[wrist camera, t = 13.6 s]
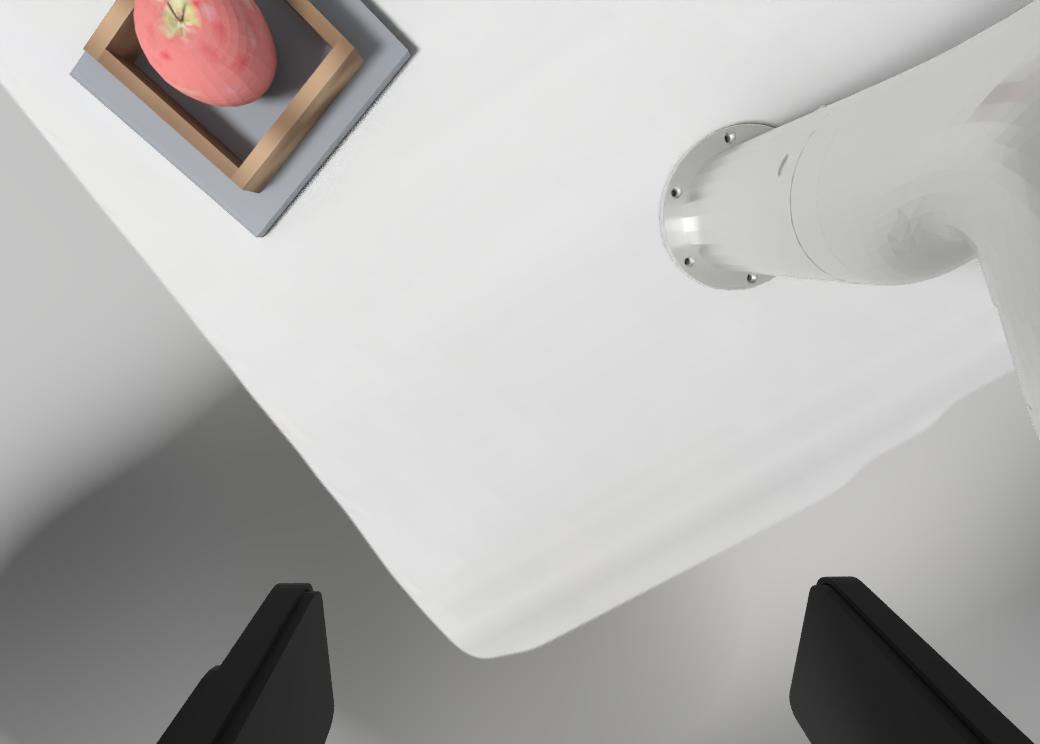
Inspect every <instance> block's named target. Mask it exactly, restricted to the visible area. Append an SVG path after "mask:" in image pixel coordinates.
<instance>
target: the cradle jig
mask: <svg viewBox="0 0 1040 744" xmlns="http://www.w3.org/2000/svg"><path fill="white" fill-rule="evenodd" d="M254 2H255V3H256V5H257V6H258V7H259V9H260V10H261V12H262V14H263V16H264V18H265V20H266V22H267V25H268V27H269V30H270V32H271V35H272V38H273V41H274V45H275V48H276V56H277V67H276V73H275V77H274V79H273V81H272V83H271V85H270V87H269V89H268V90H267V91H266V92H265V93H264V94H263V95H262V97H261V98H259V99H257V100H255V101H254V102H252V103H250V104H246V105H242V106H238V107H219V106H215V105H211V104H207V103H203V102H201V101H199V100H196V99H194V98H192V97H189V96H187V95H185V94H183V93H182V92H180V91H179V90H177V89H176V88H174V87H173V86H171V85H170V84H168V83H167V82H166V81H165V80H164V79H163V78H162V77H161V76H160V74H159V73H158V72H157V71H156V70H155V69H154V68H153V66H152V65H151V64H150V62H149V61H148V59H147V57H146V55H145V53H144V51H143V50H142V48H141V46H140V43H139V40H138V37H137V34H136V31H135V24H134V3H135V0H116V1H115V3H114V4H113V6H112V7H111V9H110V10H109V12H108V13H107V15H106V16H105V18H104V19H103V20H102V22H101V23H100V25H99V26H98V28H97V29H96V31H95V32H94V34H93V35H92V37H91V38H90V39H89V41H88V42H87V44H86V45H85V47H84V48H83V49H84V50H85V52H84V54H83V55H82V57H81V58H80V60H79V61H78V62H77V64H76V65H75V67H74V68H73V70H72V71H71V73H70V74H69V75H71V76H72V77H73V78H74V79H75V80H76V81H77V82H79V83H80V84H81V85H82V86H83V87H84V88H85V89H87V90H88V91H89V92H90V93H91V94H92V95H94V96H95V97H96V98H97V99H98V100H99V101H100V102H102V103H103V104H104V105H105V106H106V107H107V108H108V109H110V110H111V111H112V112H113V113H114V114H115V115H117V116H118V117H119V118H120V119H121V120H122V121H123V122H125V123H126V124H127V125H128V126H129V127H130V128H131V129H133V130H134V131H135V132H136V133H137V134H138V135H139V136H141V137H142V138H143V139H144V140H145V141H146V142H148V143H149V144H150V145H151V146H152V147H153V148H154V149H156V150H157V151H158V152H159V153H160V154H161V155H162V156H164V157H165V158H166V159H167V160H168V161H169V162H171V163H172V164H173V165H174V166H175V167H176V168H177V169H179V170H180V171H181V172H182V173H183V174H184V175H185V176H187V177H188V178H189V179H190V180H191V181H192V182H194V183H195V184H196V185H197V186H198V187H199V188H200V189H202V190H203V191H204V192H205V193H206V194H207V195H208V196H210V197H211V198H212V199H213V200H214V201H215V202H217V203H218V204H219V205H220V206H221V207H222V208H223V209H225V210H226V211H227V212H228V213H229V214H230V215H231V216H233V217H234V218H235V219H236V220H237V221H238V222H240V223H241V224H242V225H243V226H244V227H245V228H246V229H248V230H249V231H250V232H251V233H252V234H253V235H254V236H256V237H263V236H264V235H265V234H266V233H267V231H268V230H269V229H270V228H271V226H272V225H273V224H274V223H275V222H276V220H277V219H278V218H279V217H280V215H281V214H282V213H283V212H284V211H285V209H286V208H287V207H288V206H289V204H290V203H291V202H292V201H293V200H294V198H295V197H296V196H297V195H298V193H299V192H300V191H301V190H302V189H303V187H304V186H305V185H306V184H307V182H308V181H309V180H310V179H311V178H312V176H313V175H314V174H315V173H316V171H317V170H318V169H319V168H320V167H321V165H322V164H323V163H324V162H325V160H326V159H327V158H328V157H329V156H330V154H331V153H332V152H333V151H334V149H335V148H336V147H337V146H338V145H339V143H340V142H341V141H342V140H343V138H344V137H345V136H346V135H347V134H348V132H349V131H350V130H351V129H352V127H353V126H354V125H355V124H356V123H357V121H358V120H359V119H360V118H361V116H362V115H363V114H364V113H365V112H366V110H367V109H368V108H369V107H370V105H371V104H372V103H373V102H374V101H375V99H376V98H377V97H378V96H379V94H380V93H381V92H382V91H383V90H384V88H385V87H386V86H387V85H388V83H389V82H390V81H391V80H392V79H393V77H394V76H395V75H396V74H397V72H398V71H399V70H400V69H401V68H402V66H403V65H404V64H405V63H406V61H407V60H408V59H409V58H410V57H411V55H410V53H409V51H408V49H407V48H406V47H405V46H404V45H403V44H402V43H401V42H400V41H399V40H398V39H397V38H396V37H395V36H394V35H393V34H392V33H391V32H390V31H389V30H388V29H387V27H386V26H385V25H384V24H383V23H382V22H381V21H380V20H379V19H378V18H377V17H376V16H375V15H374V14H373V13H372V12H371V11H370V10H369V9H368V8H367V7H366V6H365V4H364V3H363V2H362V1H361V0H254Z"/></svg>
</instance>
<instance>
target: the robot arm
mask: <svg viewBox="0 0 1040 744" xmlns="http://www.w3.org/2000/svg"><path fill="white" fill-rule="evenodd" d="M725 137H727V139H728V141H727V142H726V141H725ZM672 190H674V191H675V192H676V195H675V196H674V197H673V196H672V195H671V191H672ZM659 219H660V228H661V235H662V238H663V242H664V245H665V248H666V250H667V252H668V254H669V255H670V257H671V259H672V261H673V262H674V263H675V264H676V266H677V267H678V268H679V269H680V270H681V271H682V272H683V273H684V274H686V275H687V276H688V277H689V278H691V279H692V280H694V281H696V282H698V283H700V284H702V285H704V286H708V287H712V288H716V289H723V290H743V289H748V288H752V287H756V286H758V285H761V284H763V283H765V282H767V281H770V280H771V279H773V278H774V277H776V276H783V277H793V278H803V279H813V280H823V281H833V282H843V283H853V284H868V285H885V286H895V285H905V284H912V283H917V282H922V281H925V280H928V279H932V278H935V277H938V276H940V275H943V274H946V273H948V272H950V271H952V270H954V269H956V268H959V267H960V266H962V265H964V264H966V263H967V262H969V261H971V260H972V259H974V258H976V257H977V259H978V261H979V263H980V265H981V268H982V271H983V273H984V276H985V279H986V282H987V285H988V289H989V292H990V296H991V299H992V302H993V304H994V305H995V306H996V308H997V309H998V312H999V316H1000V319H1001V323H1002V326H1003V330H1004V333H1005V336H1006V340H1007V343H1008V347H1009V350H1010V353H1011V357H1012V360H1013V364H1014V367H1015V371H1016V374H1017V377H1018V381H1019V384H1020V388H1021V391H1022V394H1023V398H1024V401H1025V404H1026V407H1027V410H1028V414H1029V416H1030V419H1031V422H1032V424H1033V427H1034V429H1035V431H1036V434H1037V437H1038V439H1039V440H1040V0H1034V1H1033V2H1031V3H1029V4H1028V5H1026V6H1025V7H1023V8H1021V9H1020V10H1018V11H1016V12H1015V13H1013V14H1012V15H1010V16H1008V17H1007V18H1005V19H1003V20H1001V21H1000V22H998V23H996V24H994V25H993V26H991V27H989V28H987V29H986V30H984V31H982V32H980V33H978V34H977V35H975V36H973V37H971V38H970V39H968V40H966V41H964V42H963V43H961V44H959V45H957V46H955V47H953V48H951V49H949V50H947V51H945V52H944V53H942V54H940V55H938V56H936V57H934V58H932V59H930V60H928V61H926V62H924V63H922V64H920V65H917V66H915V67H913V68H911V69H909V70H907V71H905V72H902V73H900V74H898V75H896V76H894V77H891V78H889V79H887V80H885V81H882V82H880V83H878V84H876V85H873V86H871V87H869V88H867V89H864V90H862V91H860V92H858V93H855V94H853V95H851V96H849V97H846V98H844V99H842V100H839V101H837V102H835V103H832V104H830V105H828V106H827V105H821V106H820V107H819V108H818V109H817V110H816V111H814V112H812V113H810V114H807V115H805V116H803V117H800V118H798V119H796V120H793V121H791V122H789V123H787V124H784V125H782V126H780V127H777V128H772V127H769V126H766V125H761V124H740V125H733V126H730V127H727V128H724V129H721V130H718V131H716V132H714V133H712V134H710V135H708V136H706V137H705V138H703V139H702V140H701V141H699V142H698V143H696V144H695V145H694V146H692V147H691V148H690V149H689V150H688V151H687V152H686V153H685V154H684V155H683V156H682V158H681V159H680V160H679V162H678V163H677V164H676V166H675V167H674V169H673V170H672V172H671V174H670V176H669V178H668V181H667V183H666V185H665V187H664V191H663V195H662V199H661V204H660V217H659ZM686 258H687V259H688V263H687V264H685V263H684V262H685V259H686ZM748 275H749V279H748V280H747V276H748ZM789 698H790V705H791V708H792V711H793V714H794V716H795V718H796V720H797V721H798V723H799V724H800V726H801V728H802V729H803V731H804V732H805V734H806V736H807V737H808V739H809V741H810V742H811V744H1034V743H1033V742H1032V741H1031V740H1030V739H1029V738H1028V737H1027V736H1026V735H1024V734H1023V733H1022V732H1021V731H1020V730H1019V729H1018V728H1017V727H1016V726H1015V725H1014V724H1013V723H1012V722H1011V721H1010V720H1008V719H1007V718H1006V717H1005V716H1004V715H1003V714H1002V713H1001V712H1000V711H999V710H998V709H997V708H996V707H995V706H994V705H992V704H991V703H990V702H989V701H988V700H987V699H986V698H985V697H984V696H983V695H982V694H981V693H980V692H979V691H978V690H976V689H975V688H974V687H973V686H972V685H971V684H970V683H969V682H968V681H967V680H966V679H965V678H964V677H963V676H962V675H960V674H959V673H958V672H957V671H956V670H955V669H954V668H953V667H952V666H951V665H950V664H949V663H948V662H947V661H946V660H944V659H943V658H942V657H941V656H940V655H939V654H938V653H937V652H936V651H935V650H934V649H933V648H932V647H931V646H930V645H929V644H927V643H926V642H925V641H924V640H923V639H922V638H921V637H920V636H919V635H918V634H917V633H916V632H915V631H914V630H913V629H911V628H910V627H909V626H908V625H907V624H906V623H905V622H904V621H903V620H902V619H901V618H900V617H899V616H898V615H897V614H895V613H894V612H893V611H892V610H891V609H890V608H889V607H888V606H887V605H886V604H885V603H884V602H883V601H882V600H880V598H878V597H877V596H876V595H875V594H874V593H873V592H872V591H871V590H870V589H869V588H868V587H867V586H865V584H863V583H862V582H861V581H860V580H859V579H857V578H855V577H822V578H820V579H819V580H818V582H817V585H814V586H812V587H811V589H810V592H809V597H808V603H807V607H806V612H805V618H804V622H803V628H802V633H801V638H800V643H799V648H798V653H797V658H796V663H795V668H794V673H793V678H792V684H791V689H790V695H789ZM333 713H334V700H333V691H332V682H331V673H330V664H329V655H328V646H327V637H326V628H325V619H324V610H323V601H322V595H321V593H320V592H319V591H317V592H315V591H313V588H312V586H311V584H309V583H279V584H277V585H275V586H274V588H273V589H272V590H271V592H270V593H269V595H268V596H267V597H266V599H265V601H264V602H263V603H262V605H261V606H260V608H259V609H258V611H257V612H256V614H255V615H254V617H253V618H252V620H251V621H250V623H249V624H248V626H247V627H246V629H245V630H244V632H243V633H242V634H241V636H240V637H239V639H238V640H237V642H236V644H235V645H234V646H233V648H232V649H231V651H230V652H229V654H228V655H227V657H226V658H225V660H224V661H223V663H222V664H221V665H219V666H215V667H213V668H212V669H210V670H209V671H208V672H207V673H206V675H205V676H204V677H203V678H202V679H201V681H200V682H199V684H198V685H197V687H196V688H195V689H194V691H193V692H192V694H191V695H190V696H189V698H188V699H187V701H186V703H185V704H184V705H183V706H182V708H181V709H180V711H179V712H178V714H177V715H176V717H175V718H174V719H173V721H172V722H171V724H170V725H169V727H168V728H167V730H166V731H165V732H164V734H163V735H162V737H161V738H160V740H159V741H158V742H157V744H325V741H326V738H327V735H328V733H329V730H330V727H331V723H332V719H333Z"/></svg>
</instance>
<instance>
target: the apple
mask: <svg viewBox="0 0 1040 744" xmlns="http://www.w3.org/2000/svg"><path fill="white" fill-rule="evenodd" d="M134 24H135V31H136V34H137V37H138V40H139V43H140V46H141V48H142V50H143V51H144V53H145V55H146V57H147V59H148V61H149V62H150V64H151V65H152V66H153V68H154V69H155V70H156V71H157V72H158V73H159V74H160V76H161V77H162V78H163V79H164V80H165V81H166V82H167V83H168V84H170V85H171V86H173V87H174V88H176V89H177V90H179V91H180V92H182V93H183V94H185V95H187V96H189V97H192V98H194V99H196V100H199V101H201V102H203V103H207V104H211V105H215V106H219V107H238V106H242V105H246V104H250V103H252V102H254V101H255V100H257V99H259V98H261V97H262V95H263V94H264V93H265V92H266V91H267V90H268V89H269V87H270V85H271V83H272V81H273V79H274V77H275V73H276V67H277V56H276V48H275V45H274V41H273V38H272V35H271V32H270V30H269V27H268V25H267V22H266V20H265V18H264V16H263V14H262V12H261V10H260V9H259V7H258V6H257V5H256V3H255V2H254V0H135V3H134Z"/></svg>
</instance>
